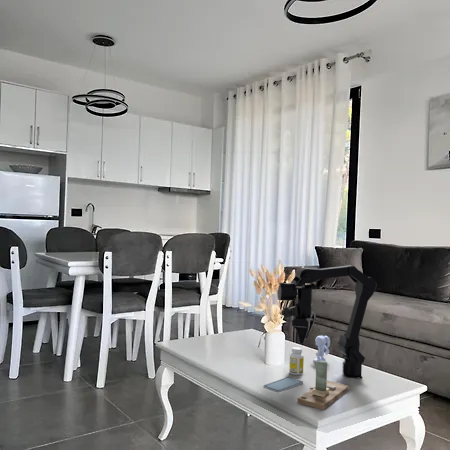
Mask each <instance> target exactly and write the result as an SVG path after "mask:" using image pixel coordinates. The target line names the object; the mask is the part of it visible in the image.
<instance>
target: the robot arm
mask: <svg viewBox="0 0 450 450" xmlns="http://www.w3.org/2000/svg"><path fill="white" fill-rule="evenodd" d="M340 277H341V278H342V277H349V279H350V280H351V281H352V282H353V283H355V287H354V291H355V300H354V304H353V308H352V311H351V315H350V318H349V322H348V326H347V330H346V332H345V333H344V334H340V335H339V340H338V342H337V345H338V350H339V352H340V353H341V354H342V356H343V358H344V359H343V360H344V361H343V362H342V370H341V371H342V375H344V377H345V378H350V379H351V378H352V379H363V376H362V371H363V370H362V369H363V368H362V366H363V363H364V362H365V360H366V358H365V356H364V355H363V354H362V353H361V352H360V345H361V344H360V343H361V342H360V333H361V328H362V325H363V322H364V317H365V314H366V309H367V306H368V302H369V300H370V299H371V298H372V296H373V295H374V293H375V291H376V289H377V287H378V286H377V281H376V279H375V278H373V277H370V276H368V275H367V274H365V273H364V272H362V271H360V270H359V269H358V268H357V267H356V266H354V265H352V264H351V265H350V264H346V265H341V266H334V267H333V266H332V267H324V268H323V267H322V268H314V267H313V268H312V267H300V268H298V269H297V270H296V273H295V276H294V277H293V278H292V280H291V282H279V284H278V288H277V293H276V294H277V300H278V301H295V300H296V299H297V300H296V303H295V304H294V306H287V307H284V308H283V309H282V310H281V312H282V313H281V315H282V316H283V319H288V318H290V317H294V318H293V319H292V320H291V326H292V327H293V328H294V329H295V330H296V331H297V336H298V340H299V344H301V345H302V344H304V343H305V340H306V339H308V337H309V334H310V332H311V330H312V328H313V325H314V323H315V319H316V313H315V311H313V306H314V302H313V290H318V286H316V285H315V283H316V282H318V281H320V280H323V279H331V278H340Z"/></svg>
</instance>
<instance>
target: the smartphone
mask: <svg viewBox="0 0 450 450" xmlns="http://www.w3.org/2000/svg"><path fill="white" fill-rule="evenodd" d="M303 384H304V381H303V380H299V379H297V378H293V377H290V376H287V377H283V378H280V379H278V380H275V381H272V382H269V383H267V384H264V385H263V389H267V390H270V391H272V392H277V393H280V392H283V391H287V390H289V389H292V388H295V387H298V386H301V385H303Z"/></svg>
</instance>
